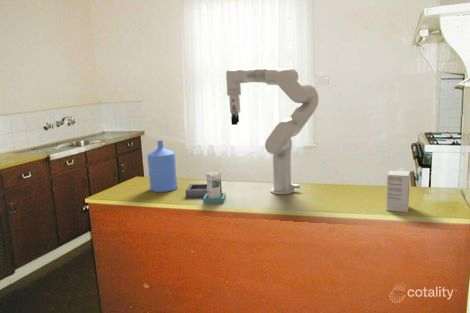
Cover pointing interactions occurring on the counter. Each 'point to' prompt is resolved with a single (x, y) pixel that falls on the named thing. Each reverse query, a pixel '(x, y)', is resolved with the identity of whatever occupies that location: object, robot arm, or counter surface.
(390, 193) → the supplement box
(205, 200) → the teal square tray
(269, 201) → the counter surface
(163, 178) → the water jug
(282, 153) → the robot arm
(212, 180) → the syrup box
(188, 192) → the grey square tray
